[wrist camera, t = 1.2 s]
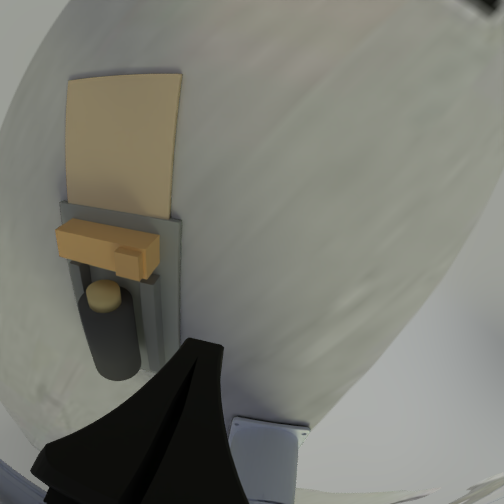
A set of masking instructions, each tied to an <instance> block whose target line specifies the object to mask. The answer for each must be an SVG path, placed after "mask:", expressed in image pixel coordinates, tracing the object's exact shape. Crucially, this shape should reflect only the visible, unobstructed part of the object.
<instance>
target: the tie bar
mask: <svg viewBox="0 0 504 504" xmlns="http://www.w3.org/2000/svg"><path fill="white" fill-rule="evenodd" d="M55 232H56V238H57V244H58V250H59V256H60V257H63V258H67V259H70V260H74V261H78V262H81V263H85V264H88V265H92V266H96V267H100V268H103V269H107V270H111V271H115V272H116V276H120V277H124V278H128V279H132V280H135V281H139V282H140V280H141V279H142V278H143V279H148V278H149V276H150V275H151V274H152V272H153V271H154V270H155V269H156V267H157V266H158V265H159V263H160V235H158V234H153V233H147V232H142V231H137V230H132V229H127V228H121V227H116V226H111V225H106V224H101V223H95V222H90V221H85V220H80V219H75V218H72V219H71V220H69V221H67V222H66V223H64V224H63V225H61V226H60V227H58V228H57V229H56V230H55Z"/></svg>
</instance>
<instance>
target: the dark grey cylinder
mask: <svg viewBox="0 0 504 504" xmlns="http://www.w3.org/2000/svg"><path fill="white" fill-rule="evenodd" d="M78 309H79V313H80V317H81V320H82V324H83V328H84V331H85V335H86V338H87V341H88V344H89V348H90V351H91V354H92V357H93V360H94V363H95V366H96V368H97V371H98V372H99V373H100V374H101V375H102V376H103V377H105V378H107V379H109V380H113V381H122V380H127V379H129V378H131V377H133V376H134V375H135V374H136V373H137V372H138V371H139V369H140V367H141V355H140V349H139V343H138V336H137V329H136V322H135V315H134V307H133V299H132V295H131V294H130V292H129V291H128V290H126V289H125V288H123V287H120V286H119V285H118V284H117V283H116V282H115V281H112V280H98V281H95V282H93V283H91V284H90V285H89V286H88V287H87V289H86V292H84V293H83V294H82V296H81V297H80V299H79V301H78Z"/></svg>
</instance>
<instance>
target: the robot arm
mask: <svg viewBox="0 0 504 504" xmlns="http://www.w3.org/2000/svg"><path fill="white" fill-rule="evenodd" d="M223 351H224V347H223V346H222V345H220V344H215V343H211V342H206V341H202V340H198V339H194V338H187V339H186V340H185V342H184V343H183V344H182V346H181V347H180V348H179V349H178V351H177V352H176V353H175V354H174V355H173V356H172V358H171V359H170V360H169V361H168V362H167V363H166V364H165V365H164V366H163V367H162V368H161V369H160V370H159V372H158V373H157V374H156V375H155V376H154V377H153V378H152V379H150V380H149V381H148V382H147V383H146V384H145V385H144V386H143V387H142V388H141V389H140V390H138V391H137V392H136V393H135V394H134V395H133V396H131V397H130V398H129V399H128V400H126V401H125V402H124V403H122V404H121V405H120V406H118V407H117V408H115V409H114V410H112V411H111V412H110V413H108V414H107V415H105V416H104V417H102V418H100V419H99V420H97V421H95V422H94V423H92V424H90V425H88V426H86V427H84V428H82V429H80V430H78V431H77V432H74V433H72V434H70V435H68V436H65V437H63V438H60V439H58V440H56V441H53V442H50V443H48V444H46V445H45V447H44V448H43V449H42V451H41V452H40V453H39V455H38V457H37V459H36V461H35V462H34V464H33V466H32V468H31V470H30V471H31V473H32V474H33V475H34V476H35V477H37V478H38V479H39V480H41V481H42V482H43V483H45V484H46V485H48V486H49V489H48V492H46V491H44V490H42V489H41V488H40V487H38V486H37V485H35V484H34V483H32V482H31V481H29V480H28V479H26V478H25V477H24V476H22V475H21V474H19V473H18V472H17V471H15V470H14V469H12V468H11V467H10V466H9V465H7V464H6V463H5V462H4V461H2V460H1V459H0V504H294V500H295V488H296V475H297V462H298V449H299V448H300V446H301V445H302V443H303V442H304V440H305V439H306V438H307V436H308V435H309V433H310V430H311V429H310V428H309V427H301V426H292V425H284V424H277V423H270V422H263V421H257V420H251V419H246V418H241V417H234V418H233V420H232V425H231V430H230V434H229V439H228V438H227V433H226V429H225V423H224V417H223V410H222V402H221V388H220V376H221V367H222V359H223Z"/></svg>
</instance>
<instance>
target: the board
mask: <svg viewBox="0 0 504 504" xmlns="http://www.w3.org/2000/svg"><path fill="white" fill-rule="evenodd" d="M181 81H182V74H134V75H117V76H104V77H94V78H85V79H77V80H70V81H68V92H67V106H66V134H65V153H66V181H67V196H68V201H61V202H60V212H61V221H62V225H63V224H64V223H66V222H67V221H69V220H71V219H72V218H75V219H80V220H85V221H90V222H95V223H101V224H106V225H111V226H116V227H121V228H127V229H132V230H137V231H142V232H147V233H153V234H158V235H160V263H159V265H158V266H157V267H156V269H155V270H154V271H153V272H152V274H151V275H150V276H149V278H148V279H143V278H142V279H141V280H140V282H139V281H135V280H132V279H128V278H124V277H120V276H116V272H115V271H111V270H107V269H103V268H100V267H96V266H92V265H88V264H85V263H81V262H78V261H74V260H70V259H67V260H68V266H69V271H70V276H71V280H72V285H73V290H74V294H75V298H76V302H77V306H78V301H79V299H80V297H81V296H82V294H83V293H84V292H86V289H87V287H88V286H89V285H90V284H91V283H93V282H95V281H98V280H112V281H115V282H116V283H117V284H118V285H119V286H120V287H123V288H125V289H126V290H128V291H129V292H130V294H131V295H132V299H133V307H134V315H135V322H136V329H137V336H138V343H139V349H140V355H141V367H140V369H143V370H146V371H150V372H153V373H156V374H157V373H158V372H159V370H160V369H161V368H162V367H163V366H164V365H165V364H166V363H167V362H168V361H169V360H170V359H171V358H172V356H173V355H174V354H175V353H176V352H177V351H178V349H179V348H180V253H181V227H182V220H177V219H171V218H170V211H171V189H172V172H173V158H174V145H175V134H176V124H177V114H178V105H179V97H180V89H181ZM78 310H79V309H78ZM79 314H80V313H79ZM80 318H81V317H80ZM81 322H82V320H81ZM82 325H83V324H82ZM83 329H84V328H83ZM84 332H85V331H84ZM85 336H86V335H85ZM86 339H87V338H86ZM87 342H88V341H87ZM88 345H89V344H88Z"/></svg>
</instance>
